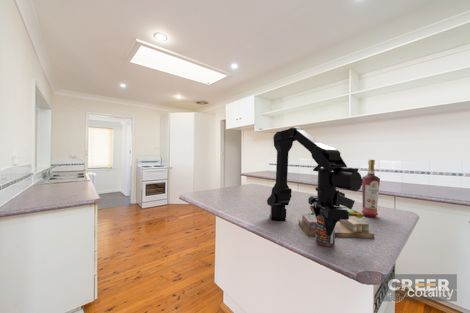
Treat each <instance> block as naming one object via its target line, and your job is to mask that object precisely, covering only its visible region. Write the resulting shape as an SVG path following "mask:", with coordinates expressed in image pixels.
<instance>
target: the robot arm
mask: <svg viewBox="0 0 470 313" xmlns="http://www.w3.org/2000/svg"><path fill="white" fill-rule="evenodd" d="M272 138H273V147H274V148H275V151H276V168H275V169H276V170H275V184H274V185H273V187H272V189H271V194H270V196H269V197H268V198H267V199H266V204H267V205H268V206H270V211H269V212H270V214H269V217H270V220H271V221H282V222H283V221H285V222H286V221H287V208H286V206H289V204H290V201H291V198H292V188H291V187H289V185H288V170H289V168H288V167H289V152H290V150H291V149H292V147H293V143H294V142H296V141H297V142H298V143H299V144H300V145H301V146H303V147H304V148H305V149H306V150H307V151H309V152H310V154H311V158H312V159H313V160H314V162H315V163H316V164H317V165H316V166H315V167H314V168H313V169H312V171H313V172H317V186H315V191H316V192H317V193H316V195H310V197H308V200H307V201H308V204H309V206H311V205H313V206H311V208H312V210H313V212H314V214H315V217H316V219H317V216H318V215H320V209H323V213H324V214H321V216H322V219H323V222H324V226H325V229H326V232H327V235H328V236H331V235H332V232H333V230H334V228H335V225H336V223H337V222H340V219H342V220H349V212H348V211H347V210H346V209H344V208H342V207H347V208H348V209H353V207H354V204H355V202H356V200H354V199H352V198H350V197H347V196H346V195H345V192H342V191H339V189H341V190H347V191H352V192H358V191H359V190H361V188H362V182H363V179H362V177H363V176H361V173H360V172H359V168H358V167H348V166H347V164H346V162H345V161H344V159H343V158H342V156H341V152H340V150H338V149H336V148H334V147H332V146H330V145H326V144H323V143H322V142H320V141H319V140H317V139H316V138H315V137H313V136H312V135H310V134H309V133H308V132H306V131H305V130H304V128H302V127H297V126H292V127H290V128H288V129H284V130H281V131H276V132H275V134H274V135H273V137H272ZM337 188H338V189H337ZM314 214H313V215H314Z"/></svg>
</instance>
